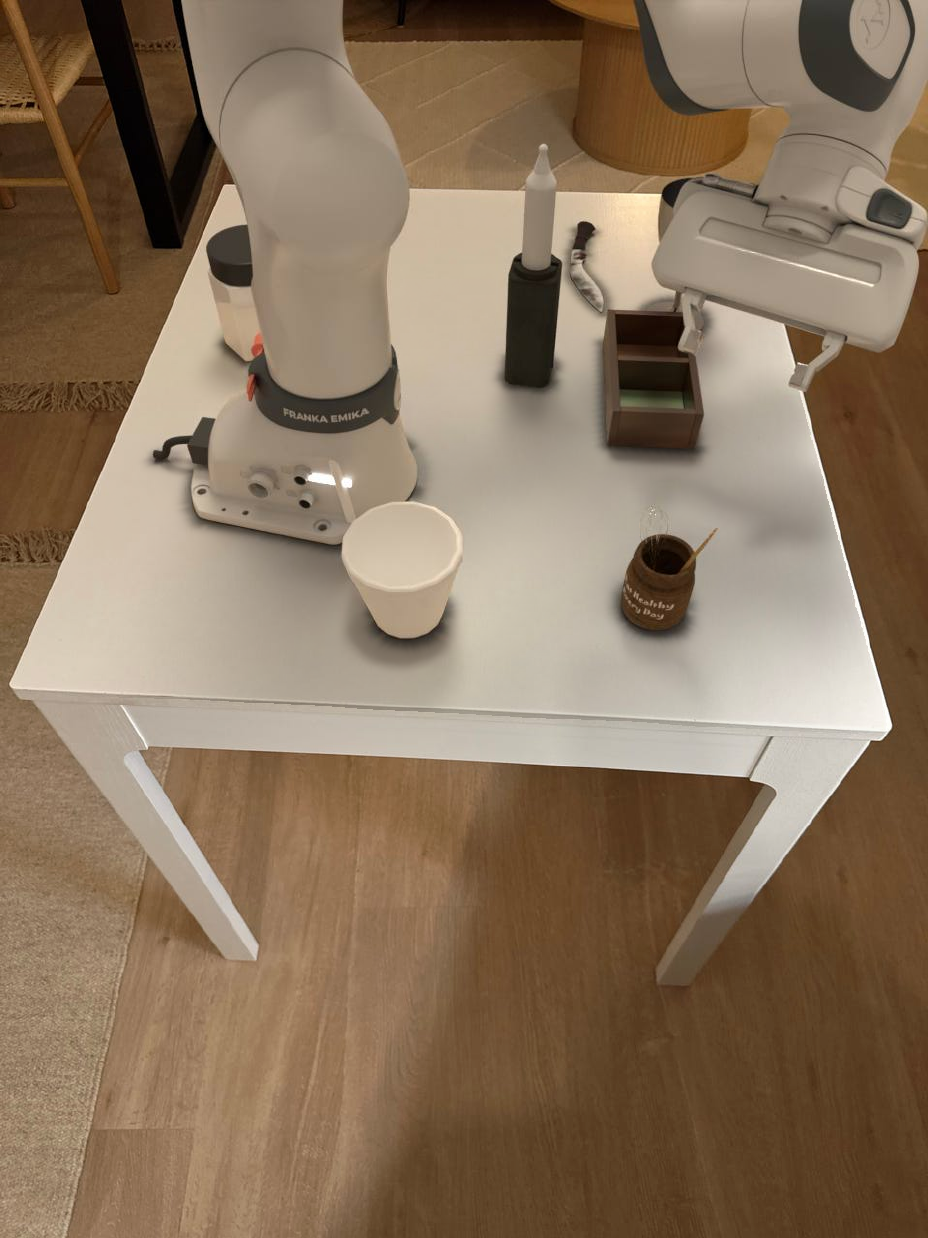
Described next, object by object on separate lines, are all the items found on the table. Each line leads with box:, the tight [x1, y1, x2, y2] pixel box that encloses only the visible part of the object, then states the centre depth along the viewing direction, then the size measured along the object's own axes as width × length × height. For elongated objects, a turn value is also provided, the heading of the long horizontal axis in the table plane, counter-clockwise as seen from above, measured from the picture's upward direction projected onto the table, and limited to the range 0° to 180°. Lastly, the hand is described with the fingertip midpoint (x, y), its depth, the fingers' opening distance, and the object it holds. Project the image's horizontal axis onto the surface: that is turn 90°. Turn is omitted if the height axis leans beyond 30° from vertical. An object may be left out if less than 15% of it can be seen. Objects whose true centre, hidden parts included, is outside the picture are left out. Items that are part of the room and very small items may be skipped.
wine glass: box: [645, 177, 705, 331], centre depth 101 cm, size 8×8×15 cm
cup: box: [341, 501, 464, 640], centre depth 77 cm, size 10×10×9 cm
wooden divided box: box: [602, 308, 705, 450], centre depth 97 cm, size 9×17×5 cm, turn 176°
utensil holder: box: [620, 506, 719, 631], centre depth 76 cm, size 6×6×12 cm
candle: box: [503, 143, 563, 388], centre depth 91 cm, size 5×5×25 cm
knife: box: [569, 220, 605, 313], centre depth 113 cm, size 18×1×5 cm
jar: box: [205, 224, 260, 362], centre depth 100 cm, size 9×8×12 cm
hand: (740, 369), depth 73 cm, fingers open, 8 cm apart
